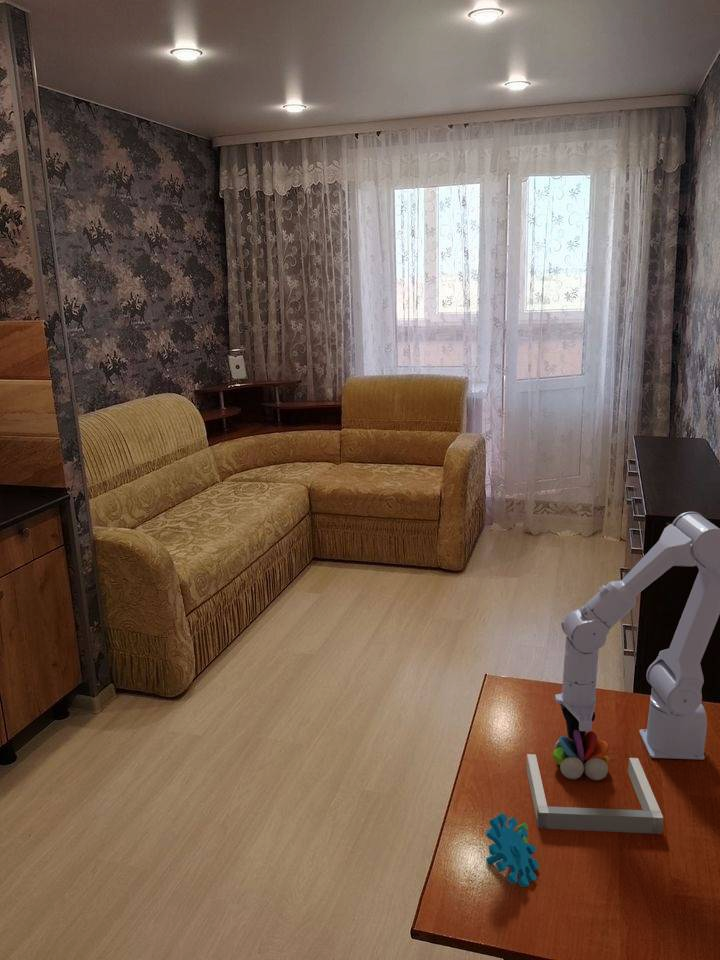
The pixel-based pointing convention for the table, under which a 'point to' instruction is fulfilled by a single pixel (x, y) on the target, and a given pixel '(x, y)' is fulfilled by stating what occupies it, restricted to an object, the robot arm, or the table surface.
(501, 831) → the teal knobby piece
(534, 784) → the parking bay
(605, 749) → the rainbow petal cluster
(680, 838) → the table surface
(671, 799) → the table surface
